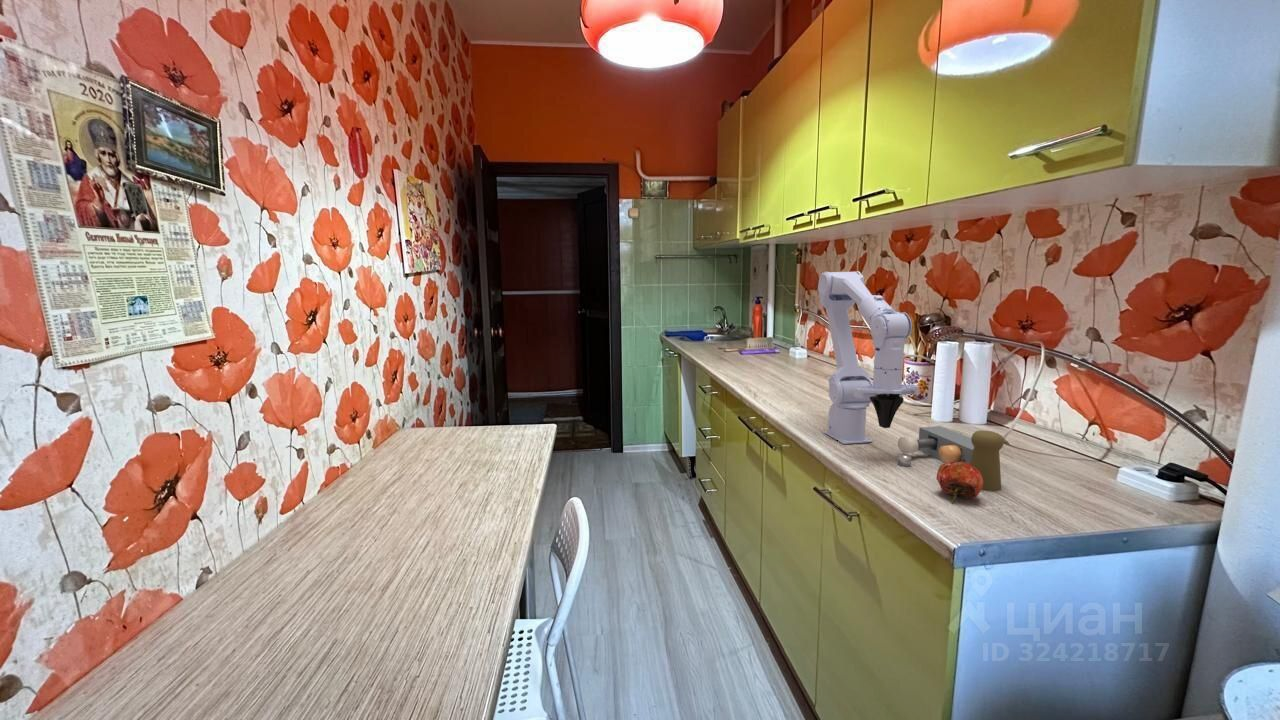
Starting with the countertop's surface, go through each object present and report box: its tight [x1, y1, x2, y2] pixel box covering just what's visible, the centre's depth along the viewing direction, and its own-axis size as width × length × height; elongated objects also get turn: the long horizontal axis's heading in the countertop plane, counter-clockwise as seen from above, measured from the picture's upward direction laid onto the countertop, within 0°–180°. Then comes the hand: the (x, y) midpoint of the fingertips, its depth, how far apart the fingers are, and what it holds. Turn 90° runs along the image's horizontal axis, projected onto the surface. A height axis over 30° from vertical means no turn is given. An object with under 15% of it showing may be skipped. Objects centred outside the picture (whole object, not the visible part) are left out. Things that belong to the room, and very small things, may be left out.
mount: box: [917, 425, 974, 464], centre depth 111 cm, size 16×6×6 cm, turn 9°
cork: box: [970, 429, 1005, 492], centre depth 97 cm, size 6×6×11 cm
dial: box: [897, 453, 913, 468], centre depth 109 cm, size 3×3×2 cm
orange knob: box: [939, 445, 962, 463], centre depth 107 cm, size 4×10×4 cm, turn 98°
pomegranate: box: [936, 460, 983, 505], centre depth 93 cm, size 7×7×10 cm
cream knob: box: [897, 435, 938, 454], centre depth 113 cm, size 4×10×4 cm, turn 98°
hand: (884, 426), depth 111 cm, fingers closed
